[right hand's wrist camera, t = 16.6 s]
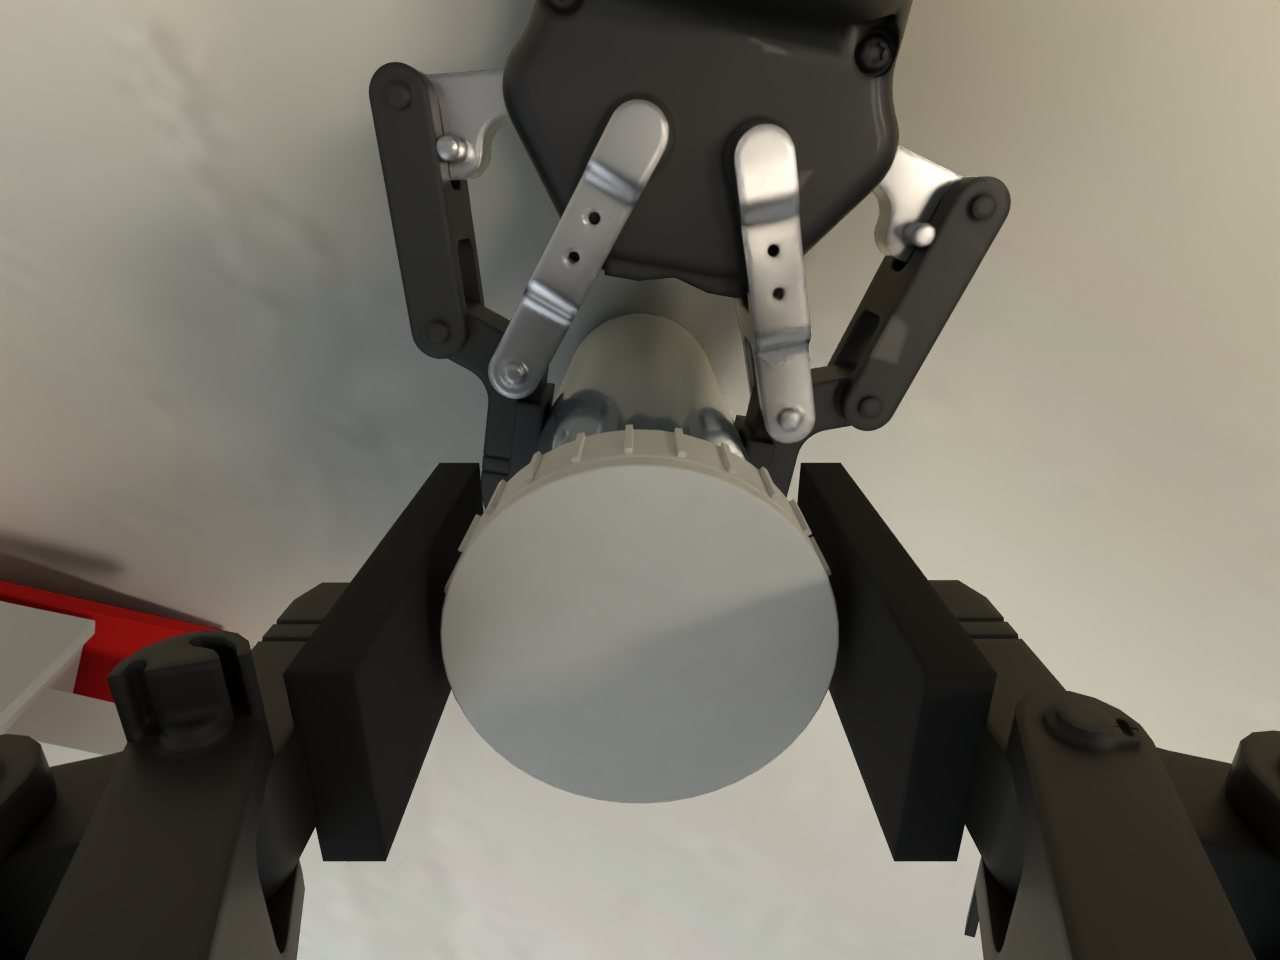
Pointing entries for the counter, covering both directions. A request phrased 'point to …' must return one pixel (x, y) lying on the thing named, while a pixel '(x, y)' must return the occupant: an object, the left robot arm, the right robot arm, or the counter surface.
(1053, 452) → the counter surface
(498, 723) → the lid
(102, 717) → the toy
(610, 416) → the jar
